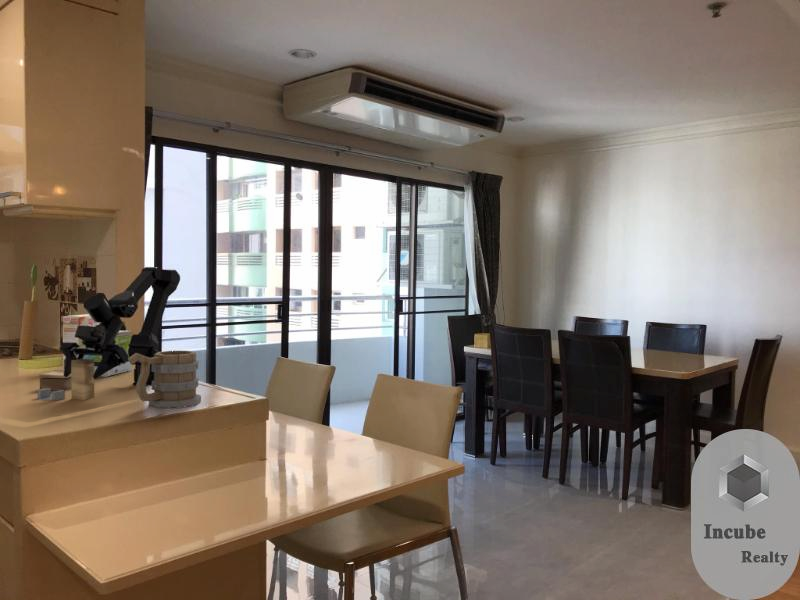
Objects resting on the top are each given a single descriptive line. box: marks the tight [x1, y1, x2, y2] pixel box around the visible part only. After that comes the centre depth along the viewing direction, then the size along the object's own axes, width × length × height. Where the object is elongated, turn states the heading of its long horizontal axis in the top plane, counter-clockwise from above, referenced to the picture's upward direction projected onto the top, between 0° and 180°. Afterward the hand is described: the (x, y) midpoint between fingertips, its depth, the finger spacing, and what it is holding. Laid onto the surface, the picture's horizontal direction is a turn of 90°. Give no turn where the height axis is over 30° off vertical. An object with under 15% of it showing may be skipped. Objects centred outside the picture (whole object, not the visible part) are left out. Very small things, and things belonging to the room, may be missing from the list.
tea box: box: [82, 330, 133, 378], centre depth 226 cm, size 15×10×15 cm, turn 171°
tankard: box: [128, 350, 202, 409], centre depth 175 cm, size 20×13×15 cm, turn 141°
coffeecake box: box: [62, 313, 100, 369], centre depth 236 cm, size 15×7×20 cm, turn 168°
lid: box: [39, 359, 71, 379], centre depth 195 cm, size 13×8×4 cm, turn 174°
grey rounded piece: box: [37, 388, 66, 402], centre depth 177 cm, size 6×7×3 cm
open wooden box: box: [39, 377, 72, 391], centre depth 195 cm, size 13×8×4 cm, turn 174°
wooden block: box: [71, 359, 95, 401], centre depth 178 cm, size 4×4×12 cm
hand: (79, 377), depth 177 cm, fingers open, 9 cm apart
